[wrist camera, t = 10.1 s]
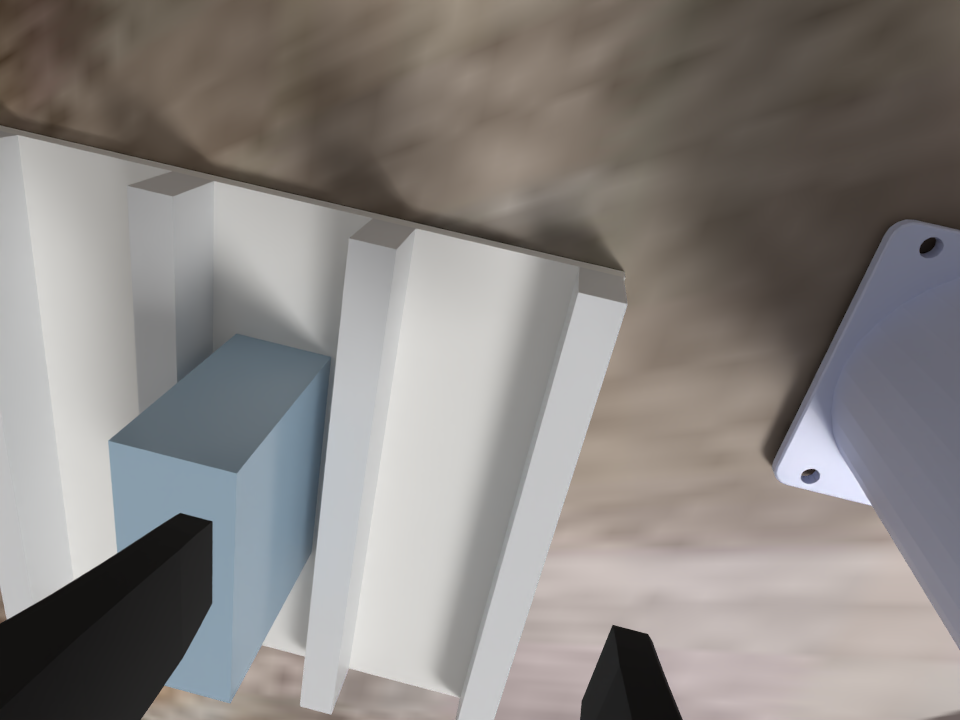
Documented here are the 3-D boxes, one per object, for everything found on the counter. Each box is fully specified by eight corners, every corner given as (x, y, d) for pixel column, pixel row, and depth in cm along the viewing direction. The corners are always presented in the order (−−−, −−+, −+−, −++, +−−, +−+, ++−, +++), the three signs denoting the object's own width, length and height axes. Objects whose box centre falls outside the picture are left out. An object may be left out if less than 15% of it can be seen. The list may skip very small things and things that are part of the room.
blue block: (331, 356, 20) (236, 473, 15) (311, 552, 24) (229, 703, 18) (236, 333, 20) (108, 440, 15) (231, 531, 24) (127, 675, 18)
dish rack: (624, 271, 18) (629, 305, 16) (492, 694, 26) (483, 755, 24) (-11, 122, 19) (-91, 134, 17) (54, 578, 27) (7, 626, 25)
